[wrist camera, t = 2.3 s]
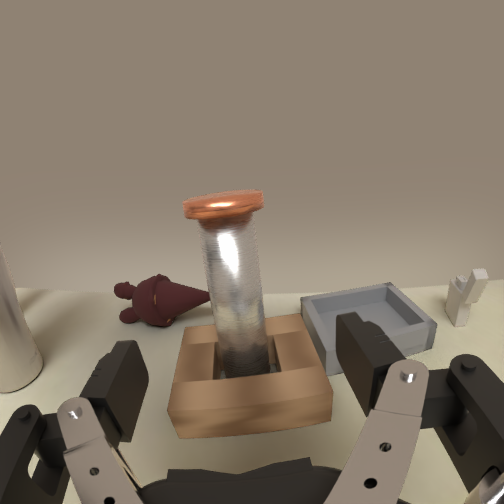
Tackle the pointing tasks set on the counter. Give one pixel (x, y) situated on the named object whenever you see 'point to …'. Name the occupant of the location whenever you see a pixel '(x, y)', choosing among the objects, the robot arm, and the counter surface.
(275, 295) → the counter surface
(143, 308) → the icecream
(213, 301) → the pin
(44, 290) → the counter surface
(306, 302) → the tray
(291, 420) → the hitch block
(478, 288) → the lighter
